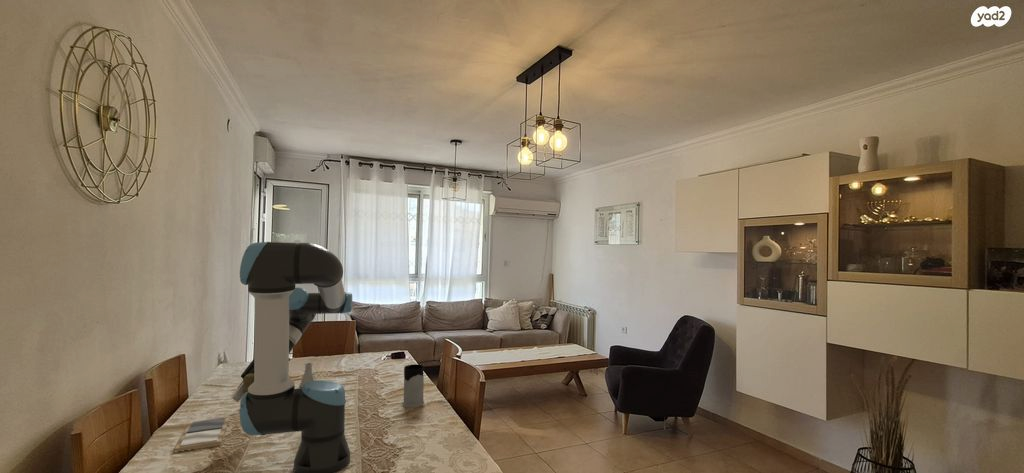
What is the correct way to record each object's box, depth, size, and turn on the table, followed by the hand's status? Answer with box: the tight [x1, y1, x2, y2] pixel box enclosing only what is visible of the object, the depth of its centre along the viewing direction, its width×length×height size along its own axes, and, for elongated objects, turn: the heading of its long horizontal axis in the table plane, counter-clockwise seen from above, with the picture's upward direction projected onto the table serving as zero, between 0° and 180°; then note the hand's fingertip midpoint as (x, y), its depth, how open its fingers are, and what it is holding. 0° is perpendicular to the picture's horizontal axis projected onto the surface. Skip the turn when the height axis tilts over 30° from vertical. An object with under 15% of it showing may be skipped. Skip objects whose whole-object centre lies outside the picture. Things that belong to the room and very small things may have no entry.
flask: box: [299, 362, 316, 388], centre depth 201 cm, size 7×7×10 cm
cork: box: [242, 373, 254, 395], centre depth 144 cm, size 6×6×11 cm
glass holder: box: [402, 364, 425, 409], centre depth 181 cm, size 9×14×15 cm, turn 36°
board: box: [173, 416, 231, 453], centre depth 147 cm, size 22×12×2 cm, turn 27°
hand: (241, 401), depth 141 cm, fingers closed on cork, 5 cm apart
